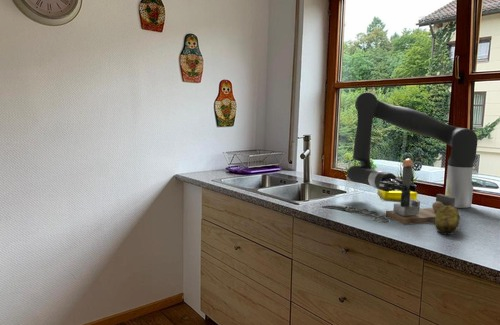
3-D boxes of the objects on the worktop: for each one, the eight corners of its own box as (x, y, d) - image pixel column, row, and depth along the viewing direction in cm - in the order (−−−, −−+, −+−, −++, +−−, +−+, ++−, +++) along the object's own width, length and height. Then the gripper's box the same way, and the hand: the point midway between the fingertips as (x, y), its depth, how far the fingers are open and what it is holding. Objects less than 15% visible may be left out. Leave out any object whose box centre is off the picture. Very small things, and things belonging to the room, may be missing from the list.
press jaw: (405, 210, 138) (409, 157, 135) (419, 215, 131) (423, 159, 128) (392, 211, 136) (396, 157, 133) (404, 216, 129) (409, 160, 127)
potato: (425, 231, 120) (427, 208, 119) (438, 224, 129) (440, 202, 128) (453, 238, 114) (455, 213, 113) (465, 229, 123) (467, 206, 122)
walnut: (438, 210, 140) (439, 200, 139) (446, 212, 136) (447, 202, 136) (429, 210, 139) (430, 200, 138) (437, 213, 135) (438, 203, 134)
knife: (320, 205, 149) (335, 200, 155) (320, 208, 150) (335, 204, 156) (382, 222, 127) (397, 216, 134) (382, 226, 128) (397, 220, 134)
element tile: (383, 200, 164) (383, 190, 164) (376, 193, 179) (377, 184, 179) (417, 202, 162) (418, 192, 162) (408, 195, 177) (409, 185, 176)
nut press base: (435, 212, 144) (436, 192, 143) (457, 220, 134) (459, 199, 132) (385, 216, 138) (386, 195, 137) (404, 224, 127) (406, 202, 126)
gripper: (367, 171, 143) (395, 179, 127) (397, 170, 147) (429, 178, 131) (366, 190, 144) (394, 200, 128) (396, 189, 148) (427, 198, 132)
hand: (411, 189), depth 129 cm, fingers closed on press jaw, 3 cm apart
